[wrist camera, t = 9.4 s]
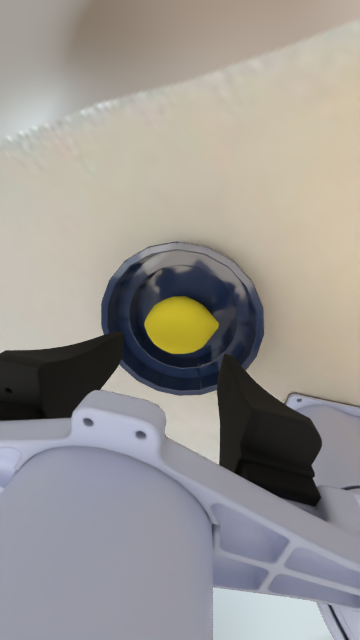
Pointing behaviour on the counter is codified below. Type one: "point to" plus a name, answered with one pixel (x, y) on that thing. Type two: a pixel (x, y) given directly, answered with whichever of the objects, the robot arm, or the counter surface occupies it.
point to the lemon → (180, 325)
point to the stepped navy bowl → (198, 284)
